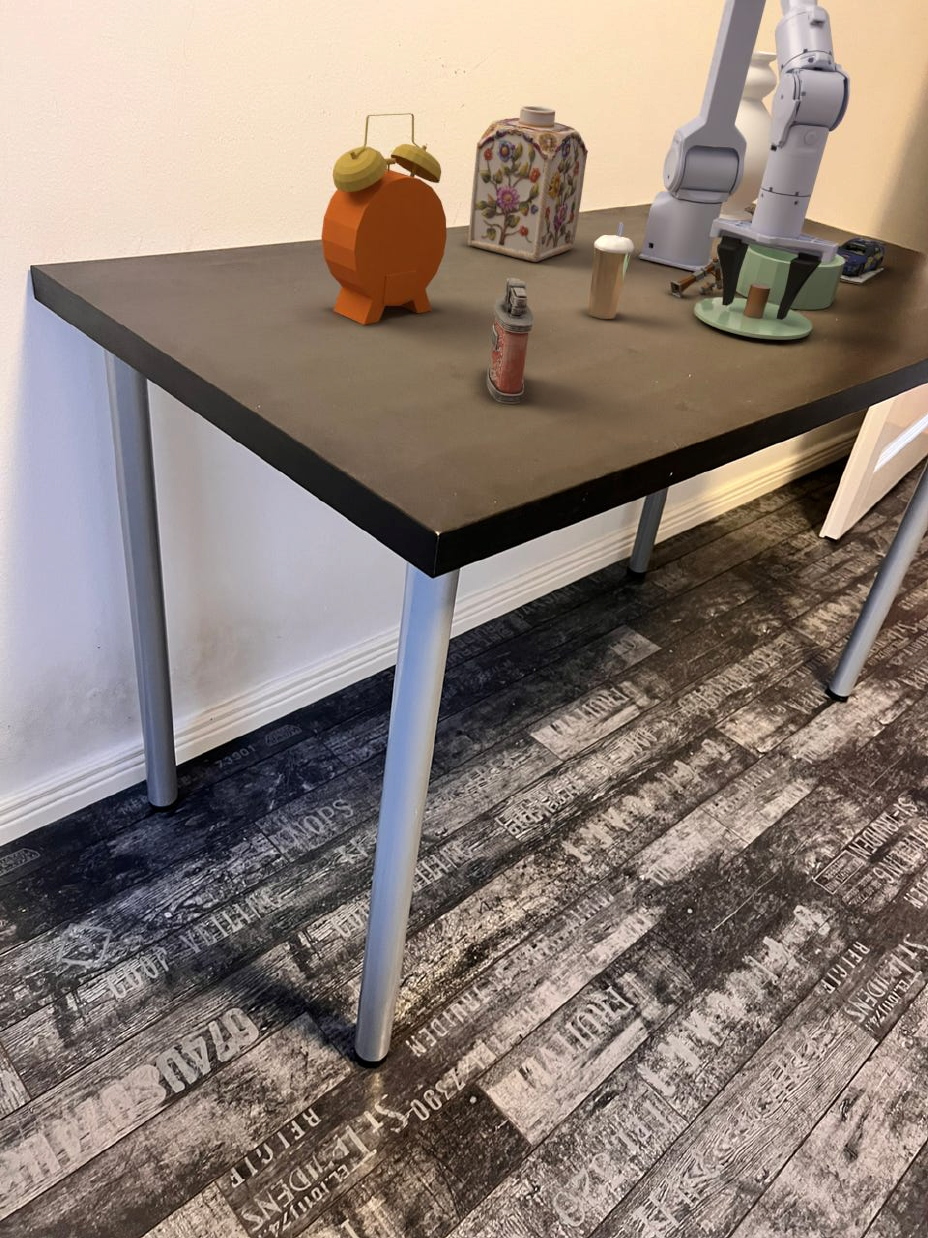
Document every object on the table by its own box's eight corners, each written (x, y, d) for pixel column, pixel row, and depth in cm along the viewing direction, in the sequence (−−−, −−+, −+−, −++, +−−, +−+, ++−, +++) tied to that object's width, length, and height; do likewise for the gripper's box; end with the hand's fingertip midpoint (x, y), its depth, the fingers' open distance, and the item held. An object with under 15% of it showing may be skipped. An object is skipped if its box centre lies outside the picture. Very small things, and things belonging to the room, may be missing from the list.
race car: (858, 285, 137) (869, 253, 134) (813, 274, 139) (822, 242, 137) (885, 267, 147) (895, 237, 145) (842, 257, 150) (851, 227, 147)
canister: (719, 292, 127) (730, 249, 124) (750, 273, 137) (761, 233, 134) (817, 316, 122) (830, 272, 119) (842, 295, 132) (855, 254, 128)
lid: (675, 323, 114) (684, 283, 112) (715, 298, 125) (724, 261, 122) (791, 353, 109) (803, 312, 106) (822, 325, 119) (834, 287, 116)
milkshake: (625, 311, 116) (641, 225, 111) (616, 323, 112) (633, 235, 106) (589, 304, 117) (603, 219, 112) (579, 316, 113) (593, 228, 107)
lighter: (483, 370, 96) (493, 268, 90) (516, 372, 96) (528, 271, 90) (491, 402, 89) (503, 294, 83) (527, 404, 90) (541, 297, 84)
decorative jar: (575, 250, 139) (596, 111, 128) (537, 264, 130) (556, 117, 120) (505, 232, 143) (520, 98, 133) (464, 245, 135) (476, 102, 125)
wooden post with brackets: (731, 286, 126) (728, 255, 123) (682, 314, 125) (678, 283, 122) (722, 282, 128) (719, 251, 125) (674, 310, 127) (669, 279, 123)
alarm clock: (407, 294, 114) (417, 107, 103) (442, 308, 111) (457, 116, 99) (318, 311, 106) (318, 110, 94) (353, 327, 103) (358, 121, 91)
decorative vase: (666, 218, 162) (701, 48, 147) (665, 198, 176) (696, 41, 162) (772, 232, 160) (817, 62, 146) (762, 210, 175) (802, 53, 160)
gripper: (713, 182, 108) (686, 302, 116) (841, 208, 102) (803, 332, 110) (733, 175, 113) (706, 291, 121) (856, 199, 107) (819, 319, 115)
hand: (754, 310), depth 116 cm, fingers open, 6 cm apart
